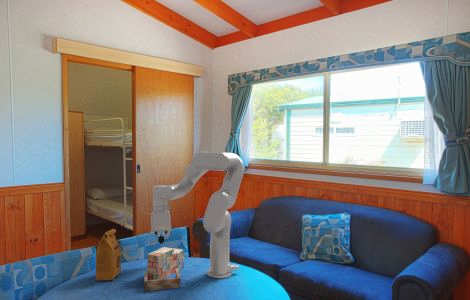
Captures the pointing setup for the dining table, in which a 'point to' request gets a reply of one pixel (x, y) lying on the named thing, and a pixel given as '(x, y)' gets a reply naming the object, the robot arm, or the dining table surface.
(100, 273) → the coffee package
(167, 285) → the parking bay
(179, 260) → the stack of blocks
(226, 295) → the dining table surface
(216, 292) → the dining table surface
